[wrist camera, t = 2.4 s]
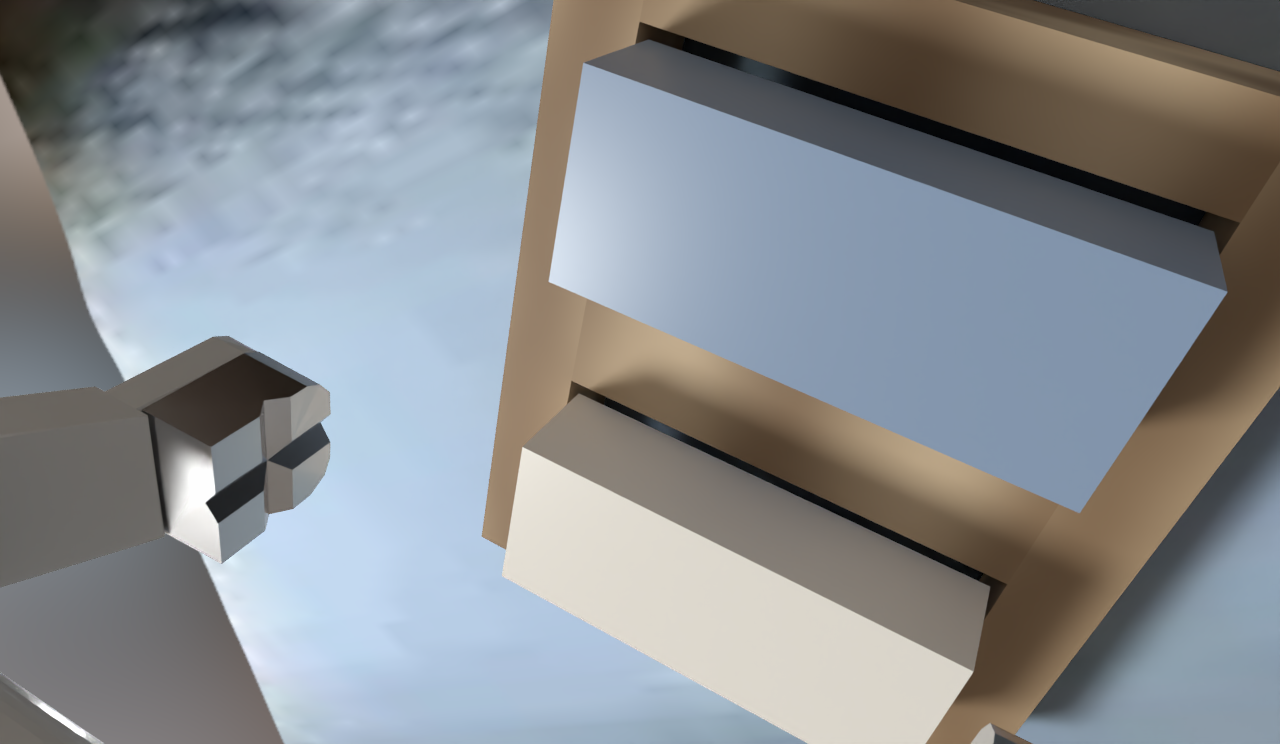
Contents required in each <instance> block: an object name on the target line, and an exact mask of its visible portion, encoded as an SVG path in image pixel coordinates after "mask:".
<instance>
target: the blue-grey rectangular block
mask: <svg viewBox="0 0 1280 744" xmlns="http://www.w3.org/2000/svg"><path fill="white" fill-rule="evenodd" d="M549 282H550V283H553V284H555V285H557V286H560V287H562V288H564V289H566V290H569V291H571V292H573V293H576V294H578V295H580V296H582V297H585V298H587V299H589V300H592V301H594V302H596V303H599V304H601V305H603V306H605V307H608V308H610V309H612V310H615V311H617V312H619V313H621V314H624V315H626V316H628V317H631V318H633V319H635V320H637V321H640V322H642V323H644V324H647V325H649V326H651V327H654V328H656V329H658V330H660V331H663V332H665V333H667V334H670V335H672V336H674V337H676V338H679V339H681V340H683V341H686V342H688V343H690V344H693V345H695V346H697V347H699V348H702V349H704V350H706V351H709V352H711V353H713V354H715V355H718V356H720V357H722V358H725V359H727V360H729V361H731V362H734V363H736V364H738V365H741V366H743V367H745V368H748V369H750V370H752V371H754V372H757V373H759V374H761V375H764V376H766V377H768V378H770V379H773V380H775V381H777V382H780V383H782V384H784V385H787V386H789V387H791V388H793V389H796V390H798V391H800V392H803V393H805V394H807V395H809V396H812V397H814V398H816V399H819V400H821V401H823V402H825V403H828V404H830V405H832V406H835V407H837V408H839V409H842V410H844V411H846V412H848V413H851V414H853V415H855V416H858V417H860V418H862V419H864V420H867V421H869V422H871V423H874V424H876V425H878V426H881V427H883V428H885V429H887V430H890V431H892V432H894V433H897V434H899V435H901V436H903V437H906V438H908V439H910V440H913V441H915V442H917V443H920V444H922V445H924V446H926V447H929V448H931V449H933V450H936V451H938V452H940V453H942V454H945V455H947V456H949V457H952V458H954V459H956V460H958V461H961V462H963V463H965V464H968V465H970V466H972V467H975V468H977V469H979V470H981V471H984V472H986V473H988V474H991V475H993V476H995V477H997V478H1000V479H1002V480H1004V481H1007V482H1009V483H1011V484H1014V485H1016V486H1018V487H1020V488H1023V489H1025V490H1027V491H1030V492H1032V493H1034V494H1036V495H1039V496H1041V497H1043V498H1046V499H1048V500H1050V501H1052V502H1055V503H1057V504H1059V505H1062V506H1064V507H1066V508H1069V509H1071V510H1073V511H1075V512H1078V513H1080V512H1081V511H1082V509H1083V508H1084V506H1085V505H1086V503H1087V502H1088V500H1089V499H1090V497H1091V496H1092V494H1093V493H1094V491H1095V490H1096V488H1097V487H1098V485H1099V484H1100V482H1101V481H1102V479H1103V478H1104V476H1105V475H1106V473H1107V472H1108V470H1109V469H1110V467H1111V466H1112V464H1113V463H1114V461H1115V460H1116V458H1117V457H1118V455H1119V454H1120V452H1121V451H1122V449H1123V448H1124V446H1125V445H1126V443H1127V442H1128V440H1129V439H1130V437H1131V436H1132V434H1133V433H1134V431H1135V430H1136V428H1137V427H1138V425H1139V424H1140V422H1141V421H1142V419H1143V418H1144V416H1145V415H1146V413H1147V412H1148V410H1149V409H1150V407H1151V406H1152V404H1153V403H1154V401H1155V400H1156V398H1157V397H1158V395H1159V394H1160V392H1161V391H1162V389H1163V388H1164V386H1165V385H1166V383H1167V382H1168V380H1169V379H1170V377H1171V376H1172V374H1173V373H1174V371H1175V370H1176V368H1177V367H1178V365H1179V364H1180V362H1181V361H1182V359H1183V358H1184V356H1185V355H1186V354H1187V352H1188V351H1189V349H1190V348H1191V346H1192V345H1193V343H1194V342H1195V340H1196V339H1197V337H1198V336H1199V334H1200V333H1201V331H1202V330H1203V328H1204V327H1205V325H1206V324H1207V322H1208V321H1209V319H1210V318H1211V316H1212V315H1213V313H1214V312H1215V310H1216V309H1217V307H1218V306H1219V304H1220V303H1221V301H1222V300H1223V298H1224V297H1225V295H1226V294H1227V292H1228V291H1227V286H1226V282H1225V278H1224V273H1223V269H1222V264H1221V260H1220V255H1219V251H1218V246H1217V242H1216V237H1215V233H1214V231H1211V230H1208V229H1205V228H1202V227H1199V226H1196V225H1193V224H1190V223H1187V222H1184V221H1181V220H1178V219H1175V218H1172V217H1169V216H1167V215H1164V214H1161V213H1158V212H1155V211H1152V210H1149V209H1146V208H1143V207H1140V206H1137V205H1134V204H1131V203H1128V202H1125V201H1122V200H1119V199H1117V198H1114V197H1111V196H1108V195H1105V194H1102V193H1099V192H1096V191H1093V190H1090V189H1087V188H1084V187H1081V186H1078V185H1075V184H1072V183H1069V182H1067V181H1064V180H1061V179H1058V178H1055V177H1052V176H1049V175H1046V174H1043V173H1040V172H1037V171H1034V170H1031V169H1028V168H1025V167H1022V166H1020V165H1017V164H1014V163H1011V162H1008V161H1005V160H1002V159H999V158H996V157H993V156H990V155H987V154H984V153H981V152H978V151H975V150H972V149H970V148H967V147H964V146H961V145H958V144H955V143H952V142H949V141H946V140H943V139H940V138H937V137H934V136H931V135H928V134H925V133H922V132H920V131H917V130H914V129H911V128H908V127H905V126H902V125H899V124H896V123H893V122H890V121H887V120H884V119H881V118H878V117H875V116H872V115H870V114H867V113H864V112H861V111H858V110H855V109H852V108H849V107H846V106H843V105H840V104H837V103H834V102H831V101H828V100H825V99H822V98H820V97H817V96H814V95H811V94H808V93H805V92H802V91H799V90H796V89H793V88H790V87H787V86H784V85H781V84H778V83H775V82H772V81H770V80H767V79H764V78H761V77H758V76H755V75H752V74H749V73H746V72H743V71H740V70H737V69H734V68H731V67H728V66H725V65H722V64H720V63H717V62H714V61H711V60H708V59H705V58H702V57H699V56H696V55H693V54H690V53H687V52H684V51H681V50H678V49H675V48H672V47H670V46H667V45H664V44H661V43H658V42H655V41H652V40H649V39H648V40H646V41H643V42H640V43H637V44H634V45H632V46H629V47H626V48H623V49H620V50H618V51H615V52H612V53H609V54H606V55H603V56H601V57H598V58H595V59H592V60H589V61H587V62H584V63H583V68H582V74H581V80H580V87H579V93H578V99H577V106H576V112H575V118H574V125H573V131H572V137H571V144H570V150H569V156H568V162H567V169H566V175H565V181H564V188H563V194H562V200H561V207H560V213H559V219H558V226H557V232H556V238H555V244H554V251H553V257H552V263H551V270H550V276H549Z"/></svg>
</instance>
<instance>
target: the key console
mask: <svg viewBox="0 0 1280 744" xmlns="http://www.w3.org/2000/svg"><path fill="white" fill-rule="evenodd" d="M685 37H687V38H690V39H693V40H696V41H699V42H702V43H705V44H708V45H711V46H714V47H717V48H720V49H723V50H726V51H729V52H732V53H735V54H738V55H741V56H744V57H747V58H750V59H752V60H755V61H758V62H761V63H764V64H767V65H770V66H773V67H776V68H779V69H782V70H785V71H788V72H791V73H794V74H797V75H800V76H803V77H806V78H809V79H812V80H815V81H818V82H821V83H824V84H827V85H830V86H833V87H836V88H839V89H842V90H845V91H848V92H851V93H854V94H857V95H860V96H863V97H866V98H869V99H872V100H875V101H878V102H881V103H884V104H887V105H890V106H893V107H896V108H899V109H902V110H905V111H908V112H911V113H914V114H917V115H920V116H923V117H926V118H929V119H932V120H935V121H938V122H940V123H943V124H946V125H949V126H952V127H955V128H958V129H961V130H964V131H967V132H970V133H973V134H976V135H979V136H982V137H985V138H988V139H991V140H994V141H997V142H1000V143H1003V144H1006V145H1009V146H1012V147H1015V148H1018V149H1021V150H1024V151H1027V152H1030V153H1033V154H1036V155H1039V156H1042V157H1045V158H1048V159H1051V160H1054V161H1057V162H1060V163H1063V164H1066V165H1069V166H1072V167H1075V168H1078V169H1081V170H1084V171H1087V172H1090V173H1093V174H1096V175H1099V176H1102V177H1105V178H1108V179H1111V180H1114V181H1117V182H1120V183H1123V184H1126V185H1128V186H1131V187H1134V188H1137V189H1140V190H1143V191H1146V192H1149V193H1152V194H1155V195H1158V196H1161V197H1164V198H1167V199H1170V200H1173V201H1176V202H1179V203H1182V204H1185V205H1188V206H1191V207H1194V208H1197V209H1200V210H1203V211H1206V213H1205V215H1204V216H1203V218H1202V219H1201V221H1200V223H1199V224H1198V226H1199V227H1202V228H1205V229H1208V230H1211V231H1214V233H1215V237H1216V242H1217V246H1218V251H1219V255H1220V260H1221V264H1222V269H1223V273H1224V278H1225V282H1226V286H1227V291H1228V292H1227V294H1226V295H1225V297H1224V298H1223V300H1222V301H1221V303H1220V304H1219V306H1218V307H1217V309H1216V310H1215V312H1214V313H1213V315H1212V316H1211V318H1210V319H1209V321H1208V322H1207V324H1206V325H1205V327H1204V328H1203V330H1202V331H1201V333H1200V334H1199V336H1198V337H1197V339H1196V340H1195V342H1194V343H1193V345H1192V346H1191V348H1190V349H1189V351H1188V352H1187V354H1186V355H1185V356H1184V358H1183V359H1182V361H1181V362H1180V364H1179V365H1178V367H1177V368H1176V370H1175V371H1174V373H1173V374H1172V376H1171V377H1170V379H1169V380H1168V382H1167V383H1166V385H1165V386H1164V388H1163V389H1162V391H1161V392H1160V394H1159V395H1158V397H1157V398H1156V400H1155V401H1154V403H1153V404H1152V406H1151V407H1150V409H1149V410H1148V412H1147V413H1146V415H1145V416H1144V418H1143V419H1142V421H1141V422H1140V424H1139V425H1138V427H1137V428H1136V430H1135V431H1134V433H1133V434H1132V436H1131V437H1130V439H1129V440H1128V442H1127V443H1126V445H1125V446H1124V448H1123V449H1122V451H1121V452H1120V454H1119V455H1118V457H1117V458H1116V460H1115V461H1114V463H1113V464H1112V466H1111V467H1110V469H1109V470H1108V472H1107V473H1106V475H1105V476H1104V478H1103V479H1102V481H1101V482H1100V484H1099V485H1098V487H1097V488H1096V490H1095V491H1094V493H1093V494H1092V496H1091V497H1090V499H1089V500H1088V502H1087V503H1086V505H1085V506H1084V508H1083V509H1082V511H1081V512H1080V513H1078V512H1075V511H1073V510H1071V509H1069V508H1066V507H1064V506H1062V505H1059V504H1057V503H1055V502H1052V501H1050V500H1048V499H1046V498H1043V497H1041V496H1039V495H1036V494H1034V493H1032V492H1030V491H1027V490H1025V489H1023V488H1020V487H1018V486H1016V485H1014V484H1011V483H1009V482H1007V481H1004V480H1002V479H1000V478H997V477H995V476H993V475H991V474H988V473H986V472H984V471H981V470H979V469H977V468H975V467H972V466H970V465H968V464H965V463H963V462H961V461H958V460H956V459H954V458H952V457H949V456H947V455H945V454H942V453H940V452H938V451H936V450H933V449H931V448H929V447H926V446H924V445H922V444H920V443H917V442H915V441H913V440H910V439H908V438H906V437H903V436H901V435H899V434H897V433H894V432H892V431H890V430H887V429H885V428H883V427H881V426H878V425H876V424H874V423H871V422H869V421H867V420H864V419H862V418H860V417H858V416H855V415H853V414H851V413H848V412H846V411H844V410H842V409H839V408H837V407H835V406H832V405H830V404H828V403H825V402H823V401H821V400H819V399H816V398H814V397H812V396H809V395H807V394H805V393H803V392H800V391H798V390H796V389H793V388H791V387H789V386H787V385H784V384H782V383H780V382H777V381H775V380H773V379H770V378H768V377H766V376H764V375H761V374H759V373H757V372H754V371H752V370H750V369H748V368H745V367H743V366H741V365H738V364H736V363H734V362H731V361H729V360H727V359H725V358H722V357H720V356H718V355H715V354H713V353H711V352H709V351H706V350H704V349H702V348H699V347H697V346H695V345H693V344H690V343H688V342H686V341H683V340H681V339H679V338H676V337H674V336H672V335H670V334H667V333H665V332H663V331H660V330H658V329H656V328H654V327H651V326H649V325H647V324H644V323H642V322H640V321H637V320H635V319H633V318H631V317H628V316H626V315H624V314H621V313H619V312H617V311H615V310H612V309H610V308H608V307H605V306H603V305H601V304H599V303H596V302H594V301H592V300H589V299H587V298H585V297H582V296H580V295H578V294H576V293H573V292H571V291H569V290H566V289H564V288H562V287H560V286H557V285H555V284H553V283H550V282H549V276H550V270H551V263H552V257H553V251H554V244H555V238H556V232H557V226H558V219H559V213H560V207H561V200H562V194H563V188H564V181H565V175H566V169H567V162H568V156H569V150H570V144H571V137H572V131H573V125H574V118H575V112H576V106H577V99H578V93H579V87H580V80H581V74H582V68H583V63H584V62H587V61H589V60H592V59H595V58H598V57H601V56H603V55H606V54H609V53H612V52H615V51H618V50H620V49H623V48H626V47H629V46H632V45H634V44H637V43H640V42H643V41H646V40H648V39H649V40H652V41H655V42H658V43H661V44H664V45H667V46H670V47H672V48H675V49H678V50H681V51H682V49H683V45H684V40H685ZM1279 387H1280V72H1279V71H1276V70H1272V69H1269V68H1265V67H1262V66H1258V65H1255V64H1251V63H1248V62H1245V61H1241V60H1238V59H1234V58H1231V57H1227V56H1224V55H1220V54H1217V53H1214V52H1210V51H1207V50H1203V49H1200V48H1196V47H1193V46H1189V45H1186V44H1182V43H1179V42H1176V41H1172V40H1169V39H1165V38H1162V37H1158V36H1155V35H1151V34H1148V33H1144V32H1141V31H1138V30H1134V29H1131V28H1127V27H1124V26H1120V25H1117V24H1113V23H1110V22H1106V21H1103V20H1100V19H1096V18H1093V17H1089V16H1086V15H1082V14H1079V13H1075V12H1072V11H1068V10H1065V9H1062V8H1058V7H1055V6H1051V5H1048V4H1044V3H1041V2H1037V1H1034V0H554V2H553V10H552V17H551V25H550V32H549V40H548V47H547V55H546V62H545V69H544V77H543V84H542V92H541V99H540V107H539V114H538V122H537V129H536V136H535V144H534V151H533V159H532V166H531V174H530V181H529V189H528V196H527V204H526V211H525V218H524V226H523V233H522V241H521V248H520V256H519V263H518V271H517V278H516V285H515V293H514V300H513V308H512V315H511V323H510V330H509V338H508V345H507V352H506V360H505V367H504V375H503V382H502V390H501V397H500V405H499V412H498V420H497V427H496V434H495V442H494V449H493V457H492V464H491V472H490V479H489V487H488V494H487V501H486V509H485V516H484V524H483V531H482V537H484V538H485V539H487V540H489V541H491V542H493V543H495V544H497V545H498V546H500V547H502V548H504V549H506V547H507V541H508V535H509V528H510V522H511V516H512V509H513V503H514V497H515V491H516V484H517V478H518V472H519V465H520V459H521V453H522V447H523V446H524V445H525V444H526V443H527V442H528V441H529V440H530V439H531V438H532V437H533V436H534V435H536V434H537V433H538V432H539V431H540V430H541V429H542V428H543V427H544V426H545V425H546V424H547V423H548V422H549V421H550V420H551V419H552V418H553V417H554V416H556V415H557V414H558V413H559V412H560V411H561V410H562V409H563V408H564V407H565V406H566V405H567V404H568V403H569V402H570V401H571V400H572V399H573V398H574V397H575V396H577V395H578V394H581V395H584V396H586V397H588V398H590V399H592V400H594V401H596V402H598V403H601V404H603V405H604V404H605V399H606V397H607V398H609V399H612V400H614V401H616V402H618V403H620V404H622V405H624V406H627V407H629V408H631V409H633V410H635V411H637V412H639V413H642V414H644V415H646V416H648V417H650V418H652V419H654V420H657V421H659V422H661V423H663V424H665V425H667V426H669V427H672V428H674V429H676V430H678V431H680V432H682V433H684V434H687V435H689V436H691V437H693V438H695V439H697V440H699V441H702V442H704V443H706V444H708V445H710V446H712V447H714V448H716V449H719V450H721V451H723V452H725V453H727V454H729V455H731V456H734V457H736V458H738V459H740V460H742V461H744V462H746V463H749V464H751V465H753V466H755V467H757V468H759V469H761V470H764V471H766V472H768V473H770V474H772V475H774V476H776V477H779V478H781V479H783V480H785V481H787V482H789V483H791V484H794V485H796V486H798V487H800V488H802V489H804V490H806V491H809V492H811V493H813V494H815V495H817V496H819V497H821V498H824V499H826V500H828V501H830V502H832V503H834V504H836V505H839V506H841V507H843V508H845V509H847V510H849V511H851V512H854V513H856V514H858V515H860V516H862V517H864V518H866V519H869V520H871V521H873V522H875V523H877V524H879V525H881V526H884V527H886V528H888V529H890V530H892V531H894V532H896V533H899V534H901V535H903V536H905V537H907V538H909V539H911V540H914V541H916V542H918V543H920V544H922V545H924V546H926V547H929V548H931V549H933V550H935V551H937V552H939V553H941V554H944V555H946V556H948V557H950V558H952V559H954V560H956V561H959V562H961V563H963V564H965V565H967V566H969V567H971V568H974V569H976V570H978V571H980V572H982V573H983V575H982V577H981V578H980V580H979V582H981V583H984V584H986V585H988V586H990V592H989V597H988V602H987V607H986V612H985V617H984V622H983V627H982V632H981V637H980V642H979V647H978V652H977V657H976V662H975V668H974V672H973V673H972V675H971V676H970V678H969V679H968V681H967V682H966V684H965V685H964V687H963V688H962V690H961V691H960V693H959V694H958V696H957V697H956V699H955V700H954V702H953V703H952V705H951V706H950V708H949V709H948V711H947V712H946V714H945V715H944V717H943V718H942V720H941V721H940V723H939V724H938V726H937V727H936V729H935V730H934V732H933V733H932V735H931V736H930V738H929V739H928V741H927V742H926V744H971V742H972V741H973V740H974V738H975V737H976V736H977V734H978V733H979V732H980V730H981V729H982V728H984V727H985V726H986V725H988V724H989V723H991V724H994V725H996V726H998V727H1000V728H1002V729H1004V730H1006V731H1008V732H1010V733H1012V734H1014V735H1015V734H1016V732H1017V731H1018V730H1019V728H1020V727H1021V726H1022V724H1023V723H1024V722H1025V721H1026V719H1027V718H1028V717H1029V715H1030V714H1031V713H1032V711H1033V710H1034V709H1035V707H1036V706H1037V705H1038V703H1039V702H1040V701H1041V700H1042V698H1043V697H1044V696H1045V694H1046V693H1047V692H1048V690H1049V689H1050V688H1051V686H1052V685H1053V684H1054V682H1055V681H1056V680H1057V679H1058V677H1059V676H1060V675H1061V673H1062V672H1063V671H1064V669H1065V668H1066V667H1067V665H1068V664H1069V663H1070V661H1071V660H1072V659H1073V658H1074V656H1075V655H1076V654H1077V652H1078V651H1079V650H1080V648H1081V647H1082V646H1083V644H1084V643H1085V642H1086V640H1087V639H1088V638H1089V637H1090V635H1091V634H1092V633H1093V631H1094V630H1095V629H1096V627H1097V626H1098V625H1099V623H1100V622H1101V621H1102V619H1103V618H1104V617H1105V616H1106V614H1107V613H1108V612H1109V610H1110V609H1111V608H1112V606H1113V605H1114V604H1115V602H1116V601H1117V600H1118V598H1119V597H1120V596H1121V595H1122V593H1123V592H1124V591H1125V589H1126V588H1127V587H1128V585H1129V584H1130V583H1131V581H1132V580H1133V579H1134V577H1135V576H1136V575H1137V574H1138V572H1139V571H1140V570H1141V568H1142V567H1143V566H1144V564H1145V563H1146V562H1147V560H1148V559H1149V558H1150V556H1151V555H1152V554H1153V553H1154V551H1155V550H1156V549H1157V547H1158V546H1159V545H1160V543H1161V542H1162V541H1163V539H1164V538H1165V537H1166V535H1167V534H1168V533H1169V532H1170V530H1171V529H1172V528H1173V526H1174V525H1175V524H1176V522H1177V521H1178V520H1179V518H1180V517H1181V516H1182V514H1183V513H1184V512H1185V511H1186V509H1187V508H1188V507H1189V505H1190V504H1191V503H1192V501H1193V500H1194V499H1195V497H1196V496H1197V495H1198V493H1199V492H1200V491H1201V490H1202V488H1203V487H1204V486H1205V484H1206V483H1207V482H1208V480H1209V479H1210V478H1211V476H1212V475H1213V474H1214V472H1215V471H1216V470H1217V469H1218V467H1219V466H1220V465H1221V463H1222V462H1223V461H1224V459H1225V458H1226V457H1227V455H1228V454H1229V453H1230V451H1231V450H1232V449H1233V448H1234V446H1235V445H1236V444H1237V442H1238V441H1239V440H1240V438H1241V437H1242V436H1243V434H1244V433H1245V432H1246V430H1247V429H1248V428H1249V427H1250V425H1251V424H1252V423H1253V421H1254V420H1255V419H1256V417H1257V416H1258V415H1259V413H1260V412H1261V411H1262V410H1263V408H1264V407H1265V406H1266V404H1267V403H1268V402H1269V400H1270V399H1271V398H1272V396H1273V395H1274V394H1275V392H1276V391H1277V390H1278V389H1279Z"/></svg>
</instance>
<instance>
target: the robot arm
mask: <svg viewBox="0 0 1280 744" xmlns="http://www.w3.org/2000/svg"><path fill="white" fill-rule="evenodd" d="M329 415H330V392H329V391H327V390H326V389H325V388H323V387H322V386H321V385H319V384H318V383H316V382H314V381H312V380H310V379H308V378H307V377H305V376H303V375H301V374H299V373H297V372H295V371H294V370H292V369H290V368H288V367H286V366H284V365H283V364H281V363H279V362H277V361H275V360H273V359H271V358H270V357H268V356H266V355H264V354H262V353H260V352H257V351H255V350H253V349H252V348H250V347H248V346H246V345H244V344H242V343H240V342H239V341H237V340H235V339H233V338H231V337H229V336H218V337H212V338H210V339H208V340H206V341H204V342H202V343H200V344H198V345H196V346H194V347H192V348H190V349H188V350H186V351H184V352H182V353H180V354H178V355H176V356H174V357H172V358H170V359H168V360H166V361H164V362H162V363H160V364H158V365H156V366H154V367H153V368H151V369H149V370H147V371H145V372H143V373H141V374H139V375H137V376H135V377H133V378H131V379H129V380H127V381H125V382H123V383H121V384H119V385H117V386H115V387H113V388H111V389H109V390H107V391H103V390H101V389H99V388H97V387H88V388H80V389H71V390H62V391H54V392H45V393H36V394H28V395H20V396H11V397H3V398H0V587H4V586H7V585H10V584H13V583H17V582H20V581H23V580H26V579H29V578H33V577H36V576H39V575H43V574H46V573H49V572H52V571H56V570H59V569H62V568H65V567H69V566H72V565H75V564H78V563H82V562H85V561H88V560H91V559H95V558H98V557H101V556H104V555H108V554H111V553H114V552H117V551H120V550H124V549H127V548H130V547H133V546H137V545H140V544H143V543H147V542H150V541H153V540H157V539H160V538H163V537H164V536H165V533H166V534H168V535H170V536H172V537H174V538H175V539H177V540H179V541H181V542H183V543H185V544H187V545H188V546H190V547H192V548H194V549H196V550H197V551H199V552H201V553H203V554H205V555H206V556H208V557H210V558H212V559H214V560H216V561H217V562H219V563H221V564H222V563H223V562H225V561H226V560H227V559H229V558H230V557H231V556H233V555H234V554H235V553H237V552H238V551H239V550H240V549H242V548H243V547H244V546H246V545H247V544H248V543H250V542H251V541H252V540H253V539H255V538H256V537H257V536H259V535H260V534H261V533H263V532H264V531H265V529H266V525H267V521H268V517H269V514H272V513H276V512H281V511H285V510H290V509H294V508H295V507H296V506H297V505H298V504H300V503H301V502H302V501H303V500H305V499H306V498H307V497H308V496H310V495H311V493H312V492H313V491H314V489H315V488H316V486H317V485H318V483H319V482H320V480H321V479H322V478H323V476H324V475H325V472H326V468H327V465H328V462H329V459H330V441H329V439H328V437H327V435H326V433H325V431H324V429H323V427H322V425H321V422H322V421H323V420H324V419H325V418H326V417H328V416H329ZM0 744H104V743H103V742H101V741H100V740H99V739H97V738H96V737H94V736H93V735H91V734H90V733H88V732H87V731H85V730H84V729H83V728H81V727H79V726H78V725H77V724H75V723H73V722H72V721H71V720H69V719H68V718H66V717H65V716H64V715H62V714H61V713H59V712H58V711H56V710H55V709H53V708H52V707H50V706H49V705H47V704H46V703H44V702H43V701H41V700H40V699H39V698H37V697H36V696H34V695H33V694H31V693H30V692H28V691H27V690H26V689H24V688H23V687H21V686H20V685H18V684H17V683H15V682H14V681H12V680H11V679H9V678H8V677H7V676H5V675H3V674H2V673H1V672H0ZM971 744H1032V743H1030V742H1028V741H1026V740H1024V739H1022V738H1020V737H1018V736H1016V735H1014V734H1012V733H1010V732H1008V731H1006V730H1004V729H1002V728H1000V727H998V726H996V725H994V724H991V723H989V724H988V725H986V726H985V727H984V728H982V729H981V730H980V732H979V733H978V734H977V736H976V737H975V738H974V740H973V741H972V742H971Z"/></svg>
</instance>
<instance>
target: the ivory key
mask: <svg viewBox="0 0 1280 744" xmlns="http://www.w3.org/2000/svg"><path fill="white" fill-rule="evenodd" d="M502 576H503V577H505V578H507V579H508V580H510V581H512V582H514V583H516V584H518V585H519V586H521V587H523V588H525V589H527V590H528V591H530V592H532V593H534V594H536V595H538V596H539V597H541V598H543V599H545V600H547V601H549V602H550V603H552V604H554V605H556V606H558V607H560V608H561V609H563V610H565V611H567V612H569V613H570V614H572V615H574V616H576V617H578V618H580V619H581V620H583V621H585V622H587V623H589V624H591V625H592V626H594V627H596V628H598V629H600V630H602V631H603V632H605V633H607V634H609V635H611V636H613V637H614V638H616V639H618V640H620V641H622V642H623V643H625V644H627V645H629V646H631V647H633V648H634V649H636V650H638V651H640V652H642V653H644V654H645V655H647V656H649V657H651V658H653V659H655V660H656V661H658V662H660V663H662V664H664V665H666V666H667V667H669V668H671V669H673V670H675V671H676V672H678V673H680V674H682V675H684V676H686V677H687V678H689V679H691V680H693V681H695V682H697V683H698V684H700V685H702V686H704V687H706V688H708V689H709V690H711V691H713V692H715V693H717V694H718V695H720V696H722V697H724V698H726V699H728V700H729V701H731V702H733V703H735V704H737V705H739V706H740V707H742V708H744V709H746V710H748V711H750V712H751V713H753V714H755V715H757V716H759V717H761V718H762V719H764V720H766V721H768V722H770V723H771V724H773V725H775V726H777V727H779V728H781V729H782V730H784V731H786V732H788V733H790V734H792V735H793V736H795V737H797V738H799V739H801V740H803V741H804V742H806V743H808V744H926V742H927V741H928V739H929V738H930V736H931V735H932V733H933V732H934V730H935V729H936V727H937V726H938V724H939V723H940V721H941V720H942V718H943V717H944V715H945V714H946V712H947V711H948V709H949V708H950V706H951V705H952V703H953V702H954V700H955V699H956V697H957V696H958V694H959V693H960V691H961V690H962V688H963V687H964V685H965V684H966V682H967V681H968V679H969V678H970V676H971V675H972V673H973V672H974V668H975V662H976V657H977V652H978V647H979V642H980V637H981V632H982V627H983V622H984V617H985V612H986V607H987V602H988V597H989V592H990V586H988V585H986V584H984V583H981V582H979V581H977V580H975V579H973V578H971V577H969V576H967V575H964V574H962V573H960V572H958V571H956V570H954V569H952V568H949V567H947V566H945V565H943V564H941V563H939V562H937V561H935V560H932V559H930V558H928V557H926V556H924V555H922V554H920V553H918V552H915V551H913V550H911V549H909V548H907V547H905V546H903V545H901V544H898V543H896V542H894V541H892V540H890V539H888V538H886V537H884V536H881V535H879V534H877V533H875V532H873V531H871V530H869V529H867V528H864V527H862V526H860V525H858V524H856V523H854V522H852V521H849V520H847V519H845V518H843V517H841V516H839V515H837V514H835V513H832V512H830V511H828V510H826V509H824V508H822V507H820V506H818V505H815V504H813V503H811V502H809V501H807V500H805V499H803V498H801V497H798V496H796V495H794V494H792V493H790V492H788V491H786V490H784V489H781V488H779V487H777V486H775V485H773V484H771V483H769V482H767V481H764V480H762V479H760V478H758V477H756V476H754V475H752V474H749V473H747V472H745V471H743V470H741V469H739V468H737V467H735V466H732V465H730V464H728V463H726V462H724V461H722V460H720V459H718V458H715V457H713V456H711V455H709V454H707V453H705V452H703V451H701V450H698V449H696V448H694V447H692V446H690V445H688V444H686V443H684V442H681V441H679V440H677V439H675V438H673V437H671V436H669V435H666V434H664V433H662V432H660V431H658V430H656V429H654V428H652V427H649V426H647V425H645V424H643V423H641V422H639V421H637V420H635V419H632V418H630V417H628V416H626V415H624V414H622V413H620V412H618V411H615V410H613V409H611V408H609V407H607V406H605V405H603V404H601V403H598V402H596V401H594V400H592V399H590V398H588V397H586V396H584V395H581V394H578V395H577V396H575V397H574V398H573V399H572V400H571V401H570V402H569V403H568V404H567V405H566V406H565V407H564V408H563V409H562V410H561V411H560V412H559V413H558V414H557V415H556V416H554V417H553V418H552V419H551V420H550V421H549V422H548V423H547V424H546V425H545V426H544V427H543V428H542V429H541V430H540V431H539V432H538V433H537V434H536V435H534V436H533V437H532V438H531V439H530V440H529V441H528V442H527V443H526V444H525V445H524V446H523V447H522V453H521V459H520V465H519V472H518V478H517V484H516V491H515V497H514V503H513V509H512V516H511V522H510V528H509V535H508V541H507V547H506V554H505V560H504V566H503V573H502Z"/></svg>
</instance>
